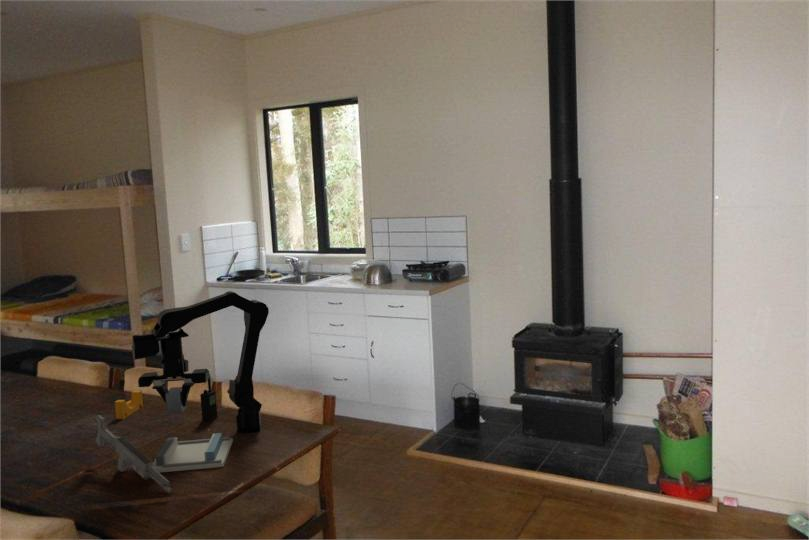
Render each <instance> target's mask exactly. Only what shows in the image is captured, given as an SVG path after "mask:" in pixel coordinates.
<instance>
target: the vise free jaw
mask: <svg viewBox="0 0 809 540" xmlns="http://www.w3.org/2000/svg"><path fill="white" fill-rule="evenodd" d="M223 438H224V437H223V432H217V433H212V435H211V438H209V439H210V441H209V443H208V446H207V448H206V450H205V452H204V455H205V461H208V460H215V459H216V456H217V454H218V451H219V449H220V447H221V444H222V442H223Z"/></svg>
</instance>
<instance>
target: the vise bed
mask: <svg viewBox="0 0 809 540" xmlns="http://www.w3.org/2000/svg"><path fill="white" fill-rule="evenodd" d="M222 438H223V442H222V444H221V447H220V449H219V451H218V454H217V456H216V459H215V460H208V461H205V455H204V452H205V450H206V448H207V446H208V443H209V441H210V439H211V438H204V439H203V438H201V439H193V440H180V441H178V437H177V436H175V437H168V438H167V439H166V440H165V442H164V443H163V445H162V446H161V448H160V450H159V451H158V453H157V454H156V455H155V459H154V461H152V462H153V465H152V467H153V468H154V469H156V470H157V471H158V472H159V473H160V474H161V473H169V472H181V471H191V470H192V471H193V470H202V469H214V468H222V467H224V466H225V464H226V461H227V459H228V456H229V453H230V450H231V448H232V445H233V441H234V438H231V436H228V437H227V436H226V437H225V436H224V437H222Z"/></svg>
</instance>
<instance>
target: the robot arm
mask: <svg viewBox="0 0 809 540" xmlns="http://www.w3.org/2000/svg"><path fill="white" fill-rule="evenodd" d="M229 307H234V308H237V309H239V310H240V311H241V310H242V311H243V321H244V329H245V330H244V335H243V340H242V341H243V342H242V347H241V353H240V359H239V364H238V370H237V374H236V376H235V378H234V379H229V382H228V384H229V386H228V389H227V391H226V393H228V398H229V400H231V402H232V403H233V404H234V405H235V406H236V407H238V410H237V413H236V416H235V417H236V418H235V420H236V421H235V422H236V429H237V432H238V433H250V432H251V433H252V432H260V431H261V428H262V425H263V424H262V421H261V409H262V406H263V404H262V403H261V402H260V401H259V400H257V399H256V398H255V397H254V394H255V390H254V383H253V381H254V380H253V373H254V368H255V363H256V358H257V357H256V356H257V352H258V345H259V341H260V340H259V339H260V335H261V332H262V330H263V327H264V326H265V324H266V322H267V319H268V316H269V313H270V312H269V311H270V310H269V307H268V306H267V304H266V303H264V302H263V301H259V300H257V299H251V300H250V299H248V298H246V297H243V296H241V295H239V294H238V293H236V292H234V291H232V290H230V291H229V290H228V291H226V292H224V293H222V294H219V295H217V296H213V297H211V298H207V299H205V300H202V301H200V302H196V303H194V304H190V305H187V306H179V307H172V308H165V309H163V310H162V311H160V312H159V313H158V315H157V319H156V323H155V325H154V326H153V328H152V330H151V331H150V333H144V334H143V333H142V334H133V335H132V336H131V337H132V338H131V339H132V340H131V352H132V357H133V358H132V359H133V360H134V361H135V360H142V359H149V358H153V357H154V358H155V357H156V356H157V355H158V354H159V353H160V352H161V353H160V354H161V363H160V364H161V365H162V373H163V374H158V372H156V371H154V372H144V373H143V374H142V375H141V376H139V378H138V379H137V383H138V384H137V385H138V388H147V387H151V386H152V390H156V392H157V393H158V394H159V395H160V397H161V398H162V400H163V402H164V403H165V404H166V395H165V394H166V393H167V391H168V390H169V388H168V387H169V382H175V381H176V382H178V381H183V382H184V383H183V384H181V385H182V386H181V387H182V397H183V406H184V407H185V406H186V403H188V398H189V394H190V391H191V388H192V387H193V386H194V385H195V384H205V383H208V379H209V378H210V379H211V374H210V370H208V369H207V368H198V369H197V368H196V369H194V370H193V371H192V372H189V360H188V359H185V355H184V353H183V343H182V339H183V338H188V337H189V334H188V333H187V332H186V331H184V330H183V327H185V326H187V325H188V324H190V323H191V322H192V321H195V320H196V319H199V318H201V317H204V316H207V315H210V314H213V313H216V312H218V311H221V310H223V309H227V308H229ZM159 343H160V344H159ZM187 372H188V373H187ZM209 374H210V375H209Z"/></svg>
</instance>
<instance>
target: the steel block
mask: <svg viewBox="0 0 809 540" xmlns="http://www.w3.org/2000/svg"><path fill="white" fill-rule="evenodd" d="M165 395H166V403H165V405H166V414H167V415H175V414H176V415H177V414H183V413H184V411H185V410H186V408H187V407H188V405H187V403H188V402H187V403H186V406H185V407H184V406H183V397H182V386H175V387H170V388H168V391H167V393H166V394H165Z"/></svg>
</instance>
